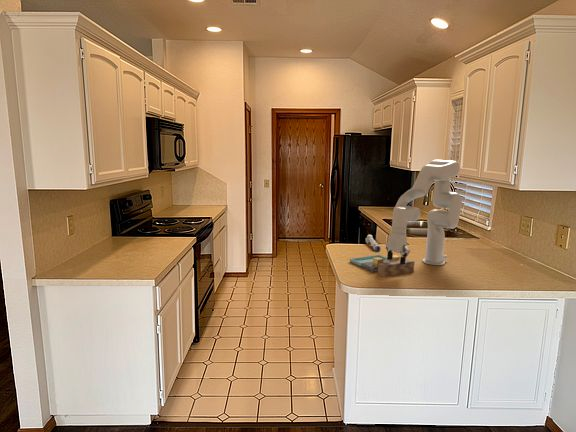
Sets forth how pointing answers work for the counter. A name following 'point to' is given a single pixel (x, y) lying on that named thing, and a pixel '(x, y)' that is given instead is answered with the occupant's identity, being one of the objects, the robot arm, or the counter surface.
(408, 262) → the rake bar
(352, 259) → the teal tray
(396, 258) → the brass block
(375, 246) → the white long cylinder
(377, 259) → the brass block
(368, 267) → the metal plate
